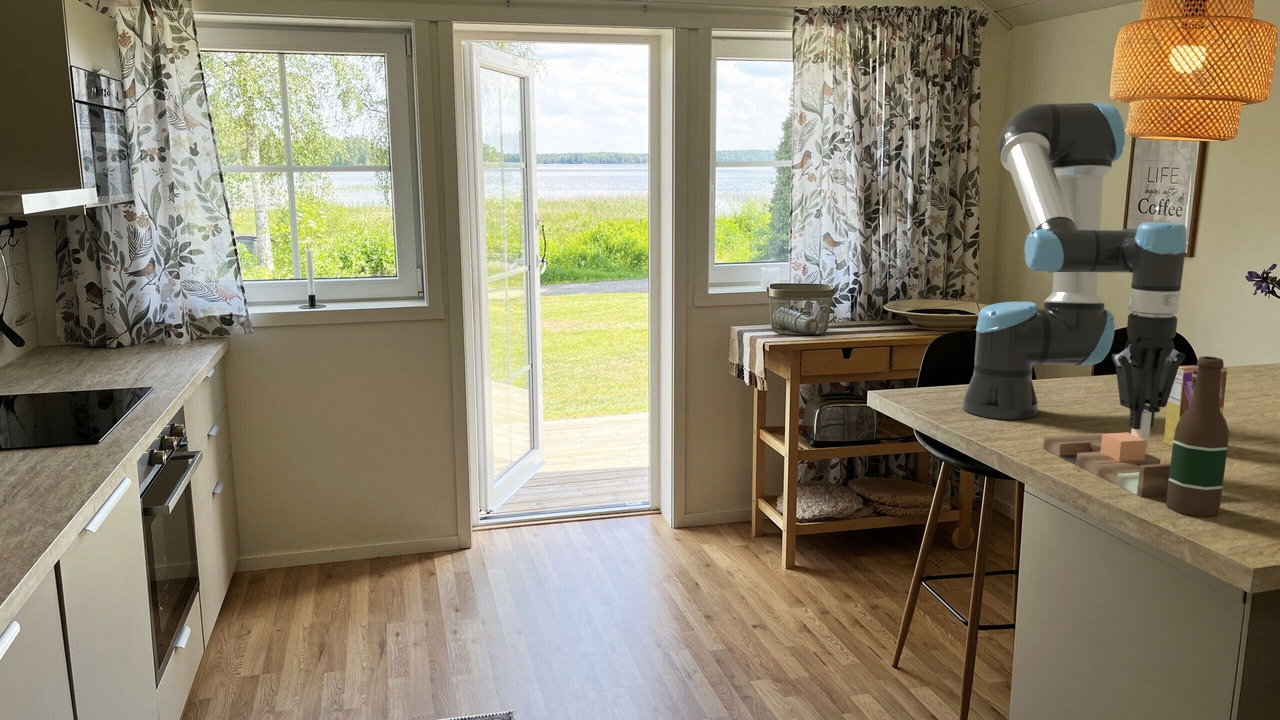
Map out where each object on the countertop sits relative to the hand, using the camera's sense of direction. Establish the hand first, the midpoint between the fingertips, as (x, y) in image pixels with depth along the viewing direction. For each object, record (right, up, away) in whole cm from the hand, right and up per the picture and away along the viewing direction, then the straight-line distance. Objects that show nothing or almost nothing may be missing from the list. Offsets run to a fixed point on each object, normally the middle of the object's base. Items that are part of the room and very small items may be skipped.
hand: (1138, 446), depth 171 cm
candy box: (+17, -1, +14) cm, 22 cm away
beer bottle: (-2, -8, -20) cm, 22 cm away
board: (-4, -4, 0) cm, 5 cm away
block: (-3, -2, 0) cm, 4 cm away
